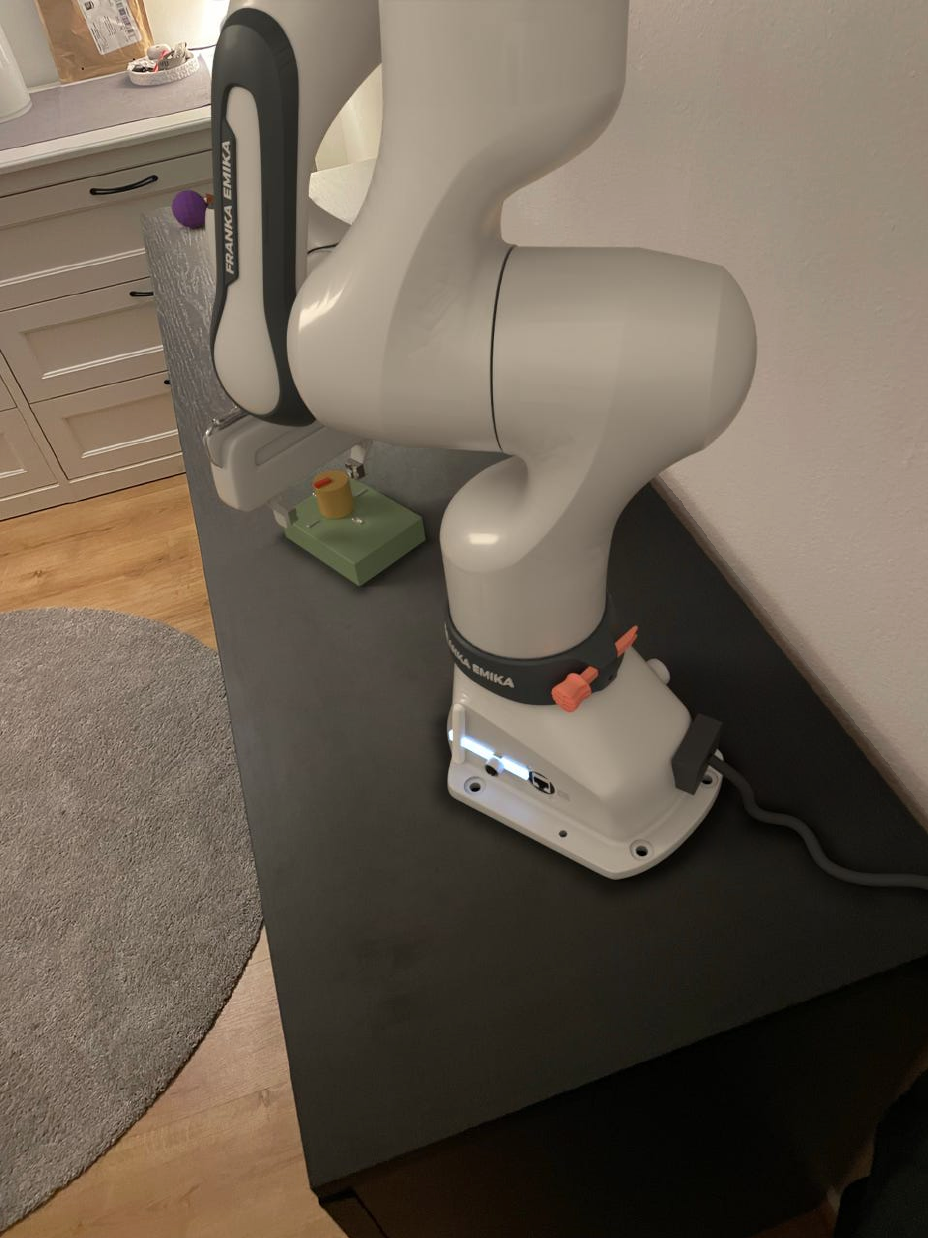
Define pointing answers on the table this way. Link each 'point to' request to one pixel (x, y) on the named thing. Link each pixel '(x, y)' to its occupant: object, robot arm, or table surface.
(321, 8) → the robot arm
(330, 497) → the tap knob
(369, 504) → the dial panel
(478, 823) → the table surface
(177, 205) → the kendama
